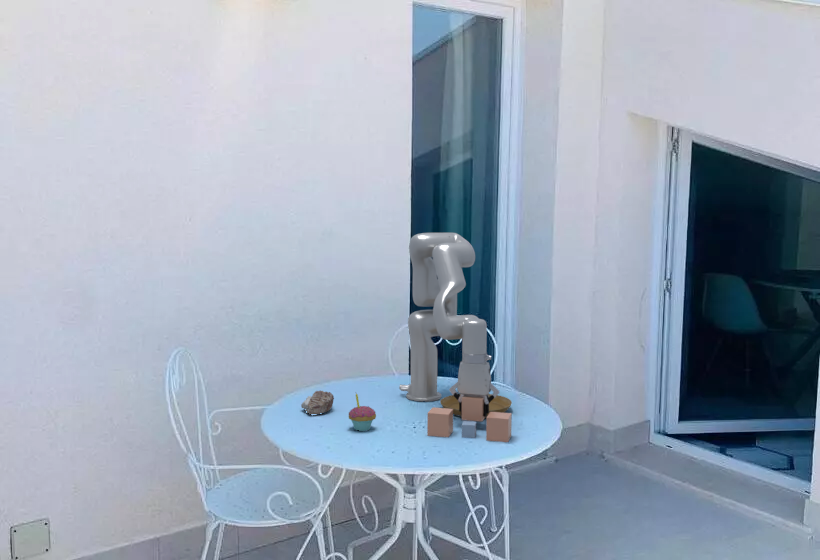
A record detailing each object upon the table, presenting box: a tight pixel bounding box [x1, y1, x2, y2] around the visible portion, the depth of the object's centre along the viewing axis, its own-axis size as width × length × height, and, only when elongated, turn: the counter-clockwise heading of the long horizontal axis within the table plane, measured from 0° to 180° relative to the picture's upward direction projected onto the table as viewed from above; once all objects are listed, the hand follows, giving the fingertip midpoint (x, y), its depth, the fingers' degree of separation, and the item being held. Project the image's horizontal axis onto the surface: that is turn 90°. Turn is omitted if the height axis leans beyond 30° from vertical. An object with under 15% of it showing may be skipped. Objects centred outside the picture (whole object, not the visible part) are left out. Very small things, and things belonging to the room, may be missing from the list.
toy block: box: [461, 395, 485, 422], centre depth 247 cm, size 6×6×7 cm
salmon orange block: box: [485, 412, 513, 443], centre depth 236 cm, size 6×6×7 cm
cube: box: [461, 420, 477, 439], centre depth 239 cm, size 4×4×4 cm
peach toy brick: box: [426, 406, 454, 438], centre depth 241 cm, size 6×6×7 cm
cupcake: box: [348, 392, 377, 432], centre depth 245 cm, size 9×8×12 cm
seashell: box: [300, 390, 335, 415], centre depth 266 cm, size 14×9×10 cm
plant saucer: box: [439, 393, 513, 419], centre depth 267 cm, size 24×24×3 cm
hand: (473, 414), depth 247 cm, fingers closed on toy block, 6 cm apart
